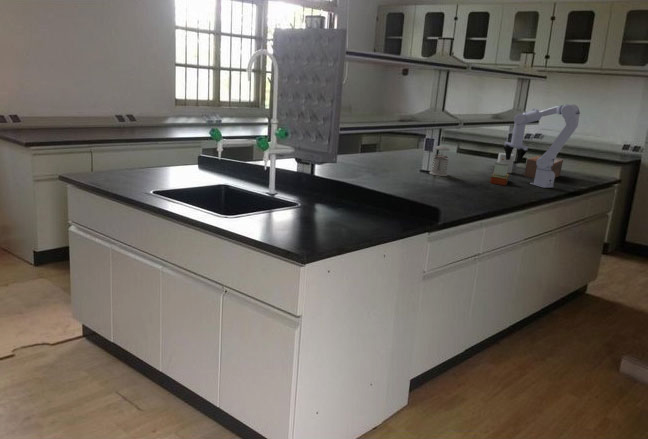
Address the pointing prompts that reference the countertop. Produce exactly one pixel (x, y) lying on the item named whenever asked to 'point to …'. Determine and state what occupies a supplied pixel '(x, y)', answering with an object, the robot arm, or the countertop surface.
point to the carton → (499, 179)
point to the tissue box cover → (532, 167)
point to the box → (500, 168)
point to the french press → (440, 162)
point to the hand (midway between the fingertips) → (513, 161)
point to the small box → (506, 161)
